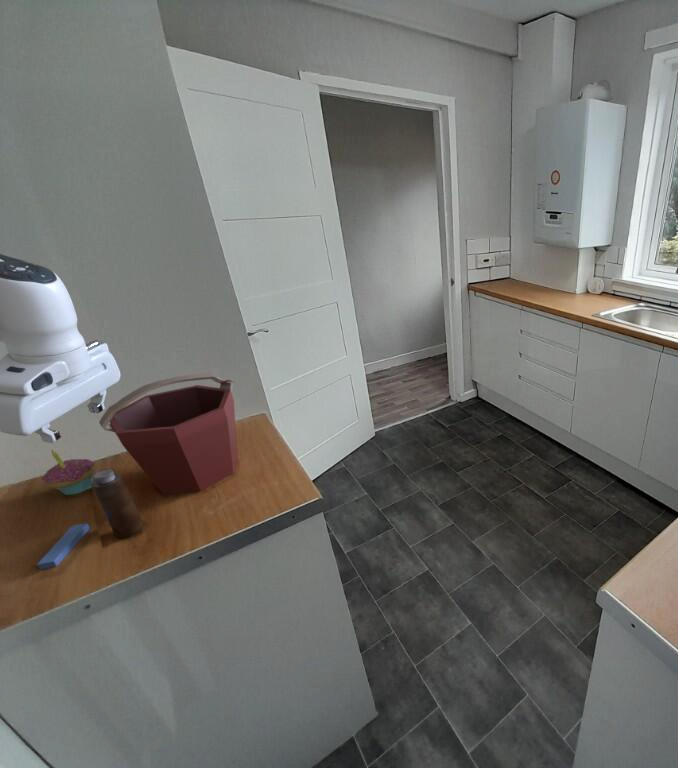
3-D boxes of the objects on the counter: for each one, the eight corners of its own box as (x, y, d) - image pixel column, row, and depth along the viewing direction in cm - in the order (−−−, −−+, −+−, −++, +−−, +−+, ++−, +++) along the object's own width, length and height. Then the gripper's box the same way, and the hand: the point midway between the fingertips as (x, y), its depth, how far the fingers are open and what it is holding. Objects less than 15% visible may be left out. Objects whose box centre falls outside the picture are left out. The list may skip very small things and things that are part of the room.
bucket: (250, 437, 115) (225, 354, 104) (264, 477, 99) (235, 385, 88) (137, 469, 101) (94, 378, 90) (132, 521, 85) (79, 418, 75)
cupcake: (99, 492, 93) (76, 448, 88) (47, 506, 89) (19, 461, 84) (106, 473, 100) (85, 431, 94) (58, 485, 95) (32, 442, 90)
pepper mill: (117, 541, 80) (88, 483, 74) (113, 530, 83) (86, 473, 77) (145, 529, 83) (120, 473, 78) (141, 519, 86) (116, 464, 80)
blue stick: (59, 571, 74) (53, 561, 73) (42, 574, 73) (36, 564, 72) (92, 532, 82) (87, 522, 81) (77, 534, 82) (72, 525, 81)
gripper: (85, 333, 79) (103, 393, 85) (-35, 385, 61) (0, 456, 67) (121, 339, 79) (137, 398, 86) (13, 392, 62) (43, 462, 68)
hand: (76, 424), depth 76 cm, fingers open, 8 cm apart
